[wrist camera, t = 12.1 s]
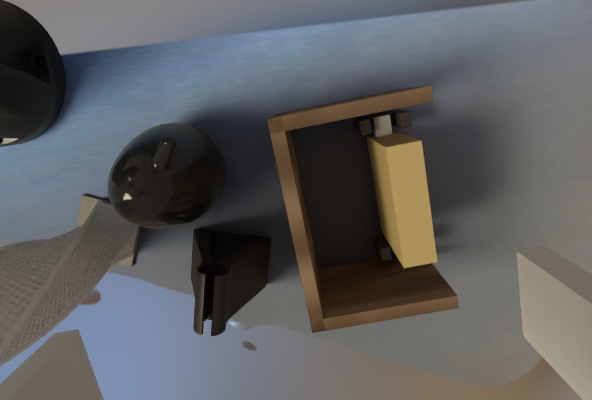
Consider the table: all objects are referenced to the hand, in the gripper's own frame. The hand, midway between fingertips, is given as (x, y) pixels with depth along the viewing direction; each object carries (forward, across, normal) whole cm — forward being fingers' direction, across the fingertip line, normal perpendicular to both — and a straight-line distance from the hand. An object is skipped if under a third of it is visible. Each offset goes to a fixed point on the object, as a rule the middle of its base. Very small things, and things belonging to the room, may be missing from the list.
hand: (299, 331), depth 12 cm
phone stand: (+35, -10, -9) cm, 38 cm away
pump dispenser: (+35, -13, +2) cm, 37 cm away
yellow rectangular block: (+35, +9, -4) cm, 36 cm away
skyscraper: (+35, -23, -3) cm, 42 cm away
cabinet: (+35, +5, -4) cm, 35 cm away
